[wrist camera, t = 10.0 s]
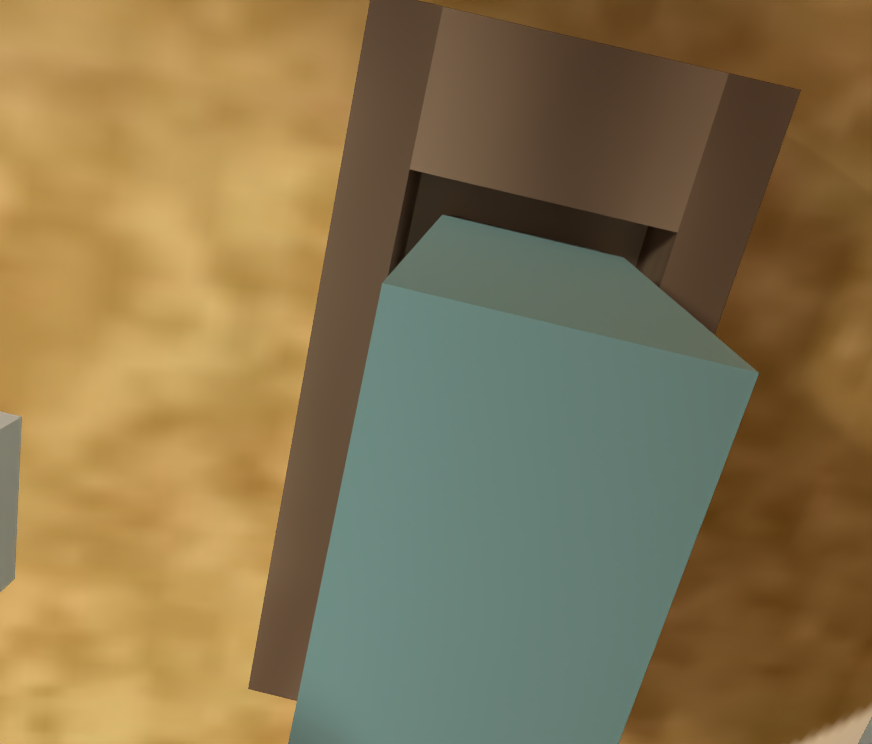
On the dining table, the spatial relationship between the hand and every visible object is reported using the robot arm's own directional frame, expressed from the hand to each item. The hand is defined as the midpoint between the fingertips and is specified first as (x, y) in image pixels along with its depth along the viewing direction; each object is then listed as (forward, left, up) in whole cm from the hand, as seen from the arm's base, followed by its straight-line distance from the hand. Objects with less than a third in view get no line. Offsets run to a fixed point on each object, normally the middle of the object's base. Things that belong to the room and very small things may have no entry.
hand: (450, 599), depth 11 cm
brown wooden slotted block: (0, 0, -11) cm, 11 cm away
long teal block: (0, 0, -10) cm, 10 cm away
